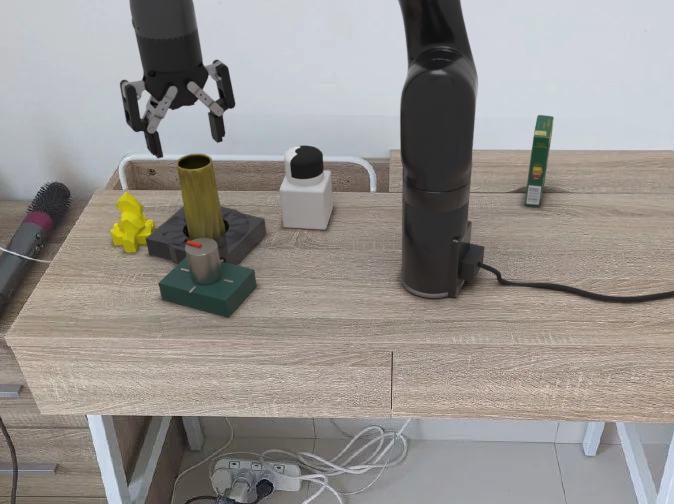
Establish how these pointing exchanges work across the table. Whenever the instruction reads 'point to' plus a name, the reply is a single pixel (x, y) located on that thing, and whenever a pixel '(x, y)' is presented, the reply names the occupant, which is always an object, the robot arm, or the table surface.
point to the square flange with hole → (231, 246)
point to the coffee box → (539, 160)
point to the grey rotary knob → (203, 261)
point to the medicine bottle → (306, 189)
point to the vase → (200, 197)
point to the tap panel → (209, 288)
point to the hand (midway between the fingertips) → (188, 147)
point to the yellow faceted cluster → (131, 224)
